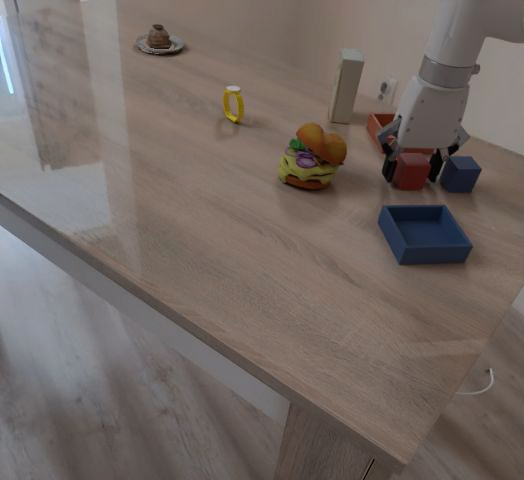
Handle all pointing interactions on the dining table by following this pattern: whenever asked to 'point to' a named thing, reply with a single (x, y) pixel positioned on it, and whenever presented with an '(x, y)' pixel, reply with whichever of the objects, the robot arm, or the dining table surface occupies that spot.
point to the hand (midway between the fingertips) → (408, 178)
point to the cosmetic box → (345, 85)
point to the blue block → (460, 174)
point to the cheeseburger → (312, 157)
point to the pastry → (160, 40)
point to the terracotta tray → (383, 119)
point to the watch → (240, 105)
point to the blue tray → (423, 234)
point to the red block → (411, 171)
